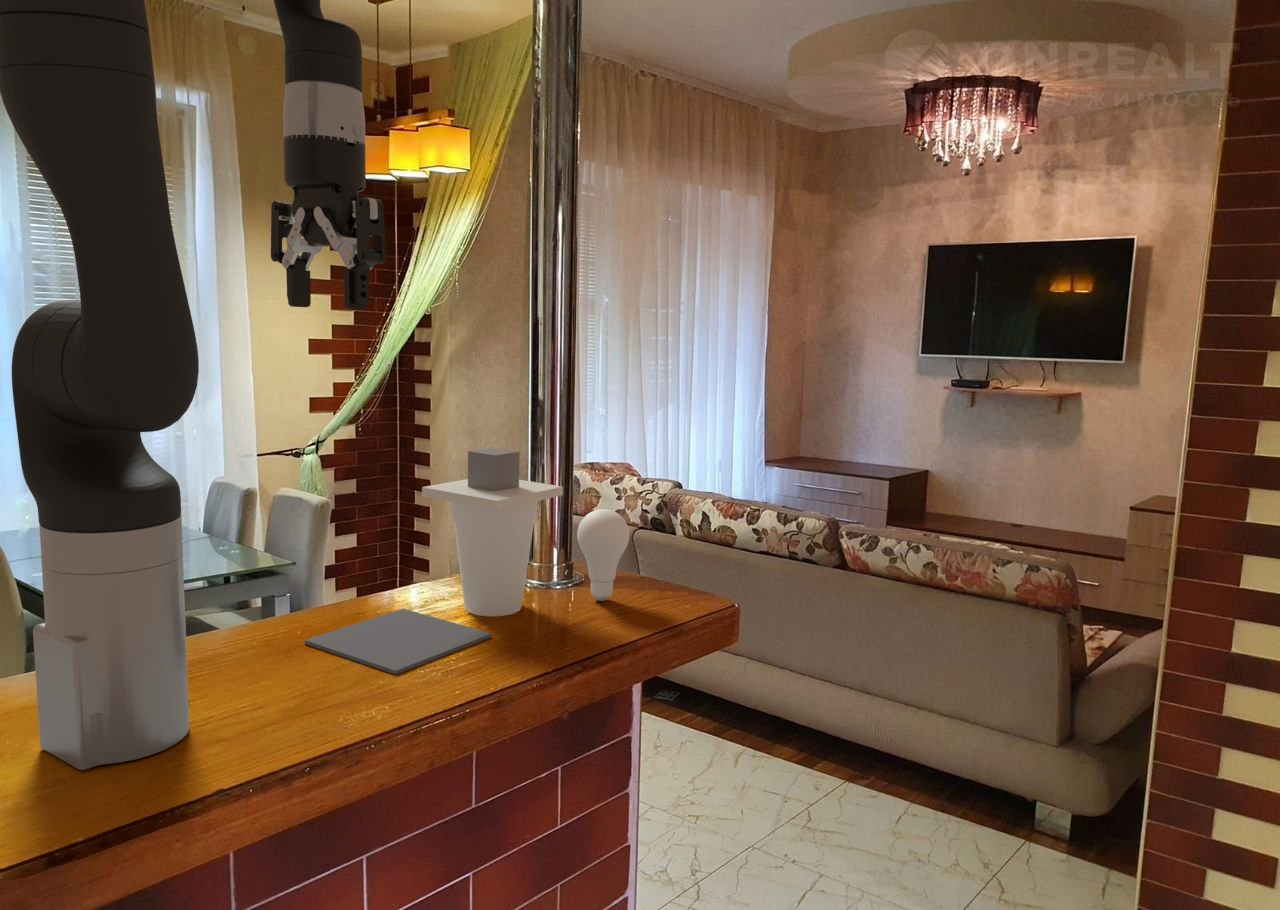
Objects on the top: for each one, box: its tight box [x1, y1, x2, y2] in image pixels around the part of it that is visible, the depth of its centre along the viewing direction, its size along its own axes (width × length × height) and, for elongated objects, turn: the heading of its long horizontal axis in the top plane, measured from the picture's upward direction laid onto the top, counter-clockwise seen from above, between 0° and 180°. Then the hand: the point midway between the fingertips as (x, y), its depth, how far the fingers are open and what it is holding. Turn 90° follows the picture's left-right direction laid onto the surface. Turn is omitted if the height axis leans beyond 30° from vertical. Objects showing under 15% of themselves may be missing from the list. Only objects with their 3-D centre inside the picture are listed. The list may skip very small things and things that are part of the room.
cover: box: [421, 447, 564, 510], centre depth 105 cm, size 11×11×5 cm
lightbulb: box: [576, 508, 630, 602], centre depth 110 cm, size 6×6×11 cm
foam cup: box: [450, 501, 538, 617], centre depth 106 cm, size 10×9×13 cm
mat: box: [304, 608, 492, 676], centre depth 96 cm, size 13×13×1 cm
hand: (327, 308), depth 93 cm, fingers open, 8 cm apart
